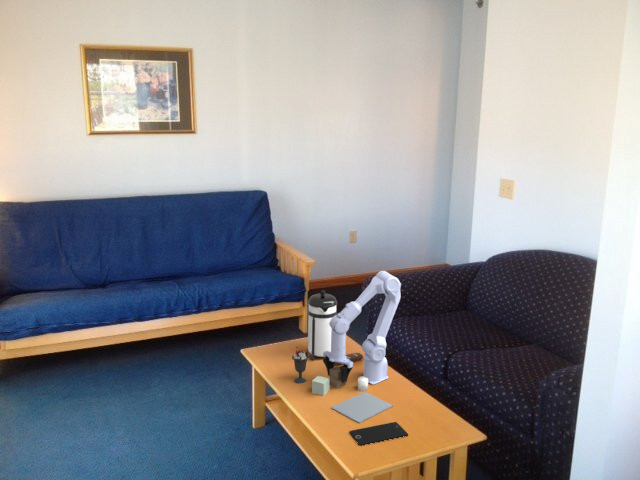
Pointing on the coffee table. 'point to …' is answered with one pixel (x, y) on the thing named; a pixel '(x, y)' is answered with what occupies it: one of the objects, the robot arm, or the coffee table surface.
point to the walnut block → (335, 377)
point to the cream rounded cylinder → (362, 383)
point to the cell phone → (378, 433)
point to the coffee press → (320, 323)
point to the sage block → (320, 385)
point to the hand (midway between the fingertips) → (337, 378)
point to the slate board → (362, 407)
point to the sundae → (300, 364)
